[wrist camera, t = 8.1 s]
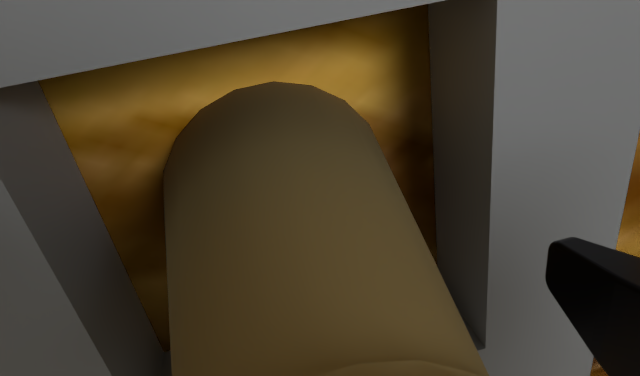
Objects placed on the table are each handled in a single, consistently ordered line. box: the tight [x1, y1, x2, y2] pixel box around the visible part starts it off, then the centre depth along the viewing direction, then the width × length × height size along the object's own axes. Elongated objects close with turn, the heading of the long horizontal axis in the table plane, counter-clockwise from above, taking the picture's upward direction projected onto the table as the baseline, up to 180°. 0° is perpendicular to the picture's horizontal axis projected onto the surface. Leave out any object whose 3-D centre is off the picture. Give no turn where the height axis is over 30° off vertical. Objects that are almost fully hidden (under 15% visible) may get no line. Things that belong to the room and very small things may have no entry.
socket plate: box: [0, 0, 640, 376], centre depth 11 cm, size 16×16×3 cm
